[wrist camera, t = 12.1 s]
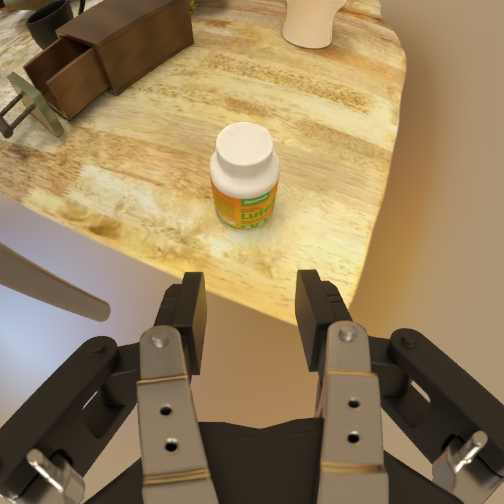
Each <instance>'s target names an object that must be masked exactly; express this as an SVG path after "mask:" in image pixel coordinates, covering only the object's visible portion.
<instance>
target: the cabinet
mask: <svg viewBox="0 0 504 504" xmlns="http://www.w3.org/2000/svg"><path fill="white" fill-rule="evenodd" d="M55 32H56V34H57V36H58V38H61V37H62V36H63V37H66V38H69V39H72V40H75V41H77V42H80V43H83V44H86V45H88V46H91V47H94V48H95V49H96V52H97V54H98V57H99V60H100V62H101V65H102V67H103V70H104V72H105V75H106V77H107V80H108V82H109V85H110V87H109V88H107V89H106V91H108V92H110V93H111V94H113V95H115V96H118V95H119V94H120V93H122V92H123V91H124V90H125V89H127V88H128V87H129V86H131V85H132V84H133V83H135V82H136V81H137V80H139V79H140V78H141V77H143V76H144V75H146V74H147V73H148V72H150V71H151V70H153V69H154V68H156V67H157V66H159V65H160V64H162V63H163V62H165V61H166V60H168V59H169V58H171V57H172V56H174V55H175V54H177V53H178V52H180V51H182V50H183V49H185V48H186V47H188V46H190V45H191V44H193V43H194V40H193V32H192V24H191V15H190V7H189V0H104V1H102V2H100V3H98V4H97V5H95V6H93V7H91V8H90V9H88V10H86V11H85V12H83V13H81V14H80V15H78V16H77V17H75V18H73V19H72V20H70V21H69V22H67V23H66V24H64V25H63V26H61V27H60V28H58V29H57V30H55Z"/></svg>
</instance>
